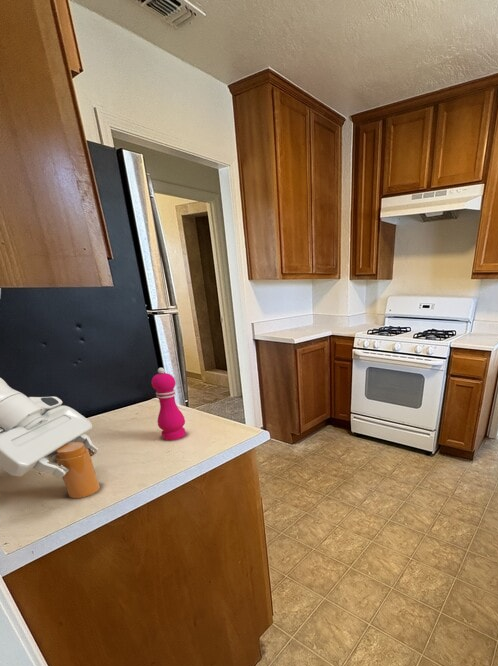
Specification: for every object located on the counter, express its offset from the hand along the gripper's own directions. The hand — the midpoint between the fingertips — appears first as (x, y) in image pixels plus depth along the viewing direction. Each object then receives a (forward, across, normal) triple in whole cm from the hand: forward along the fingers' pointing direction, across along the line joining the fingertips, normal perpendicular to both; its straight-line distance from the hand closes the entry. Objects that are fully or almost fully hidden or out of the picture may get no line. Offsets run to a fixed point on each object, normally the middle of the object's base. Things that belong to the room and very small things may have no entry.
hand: (81, 463), depth 73 cm
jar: (+4, 0, +5) cm, 6 cm away
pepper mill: (+9, +29, 0) cm, 30 cm away
